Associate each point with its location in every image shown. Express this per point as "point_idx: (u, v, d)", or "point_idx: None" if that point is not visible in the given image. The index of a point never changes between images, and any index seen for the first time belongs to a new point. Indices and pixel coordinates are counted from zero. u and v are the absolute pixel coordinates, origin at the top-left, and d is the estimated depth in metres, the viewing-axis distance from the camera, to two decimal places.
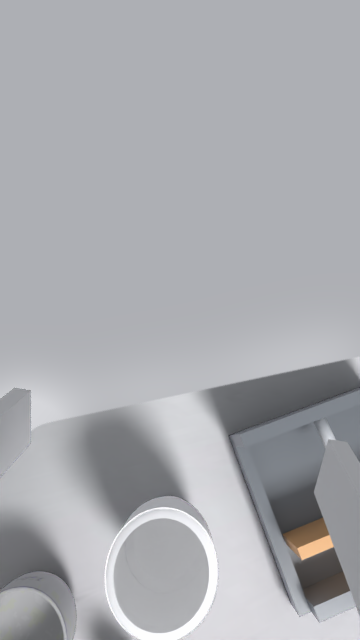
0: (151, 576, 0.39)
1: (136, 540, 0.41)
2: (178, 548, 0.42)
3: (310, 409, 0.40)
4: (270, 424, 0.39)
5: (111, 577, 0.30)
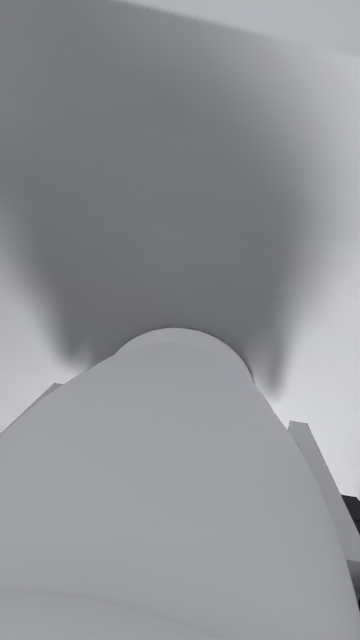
0: None
1: None
2: None
3: None
4: None
5: None
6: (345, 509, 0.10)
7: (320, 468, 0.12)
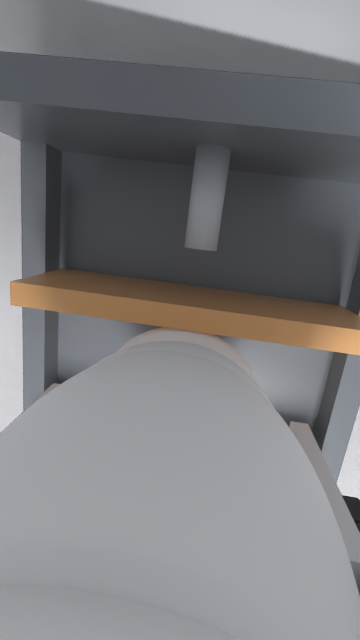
0: None
1: None
2: None
3: (159, 70, 0.11)
4: (11, 57, 0.12)
5: None
6: (346, 510, 0.10)
7: (321, 469, 0.12)
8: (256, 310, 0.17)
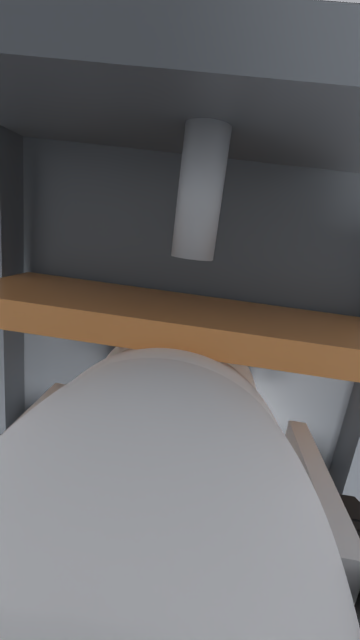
0: None
1: None
2: None
3: None
4: None
5: None
6: (343, 508, 0.10)
7: (319, 467, 0.12)
8: (266, 328, 0.13)
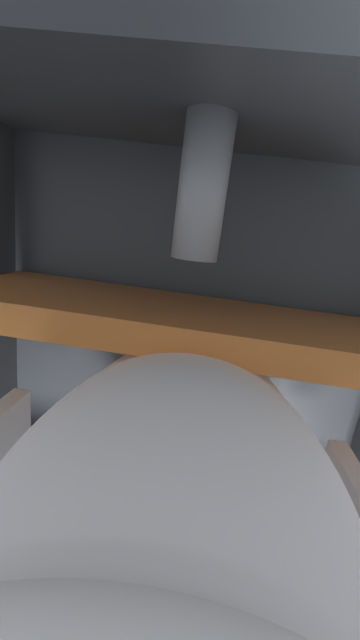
0: None
1: None
2: None
3: None
4: None
5: None
6: None
7: None
8: (275, 332, 0.12)
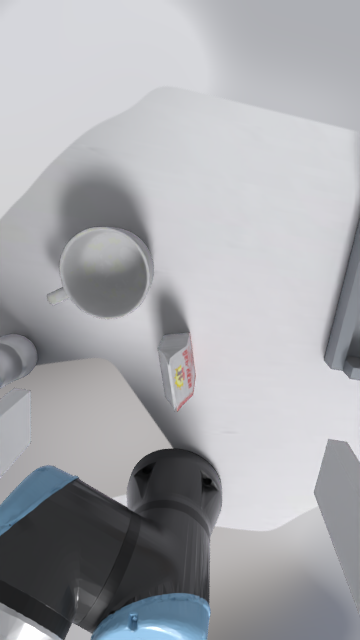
0: None
1: None
2: None
3: None
4: None
5: None
6: None
7: None
8: None
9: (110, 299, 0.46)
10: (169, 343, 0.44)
